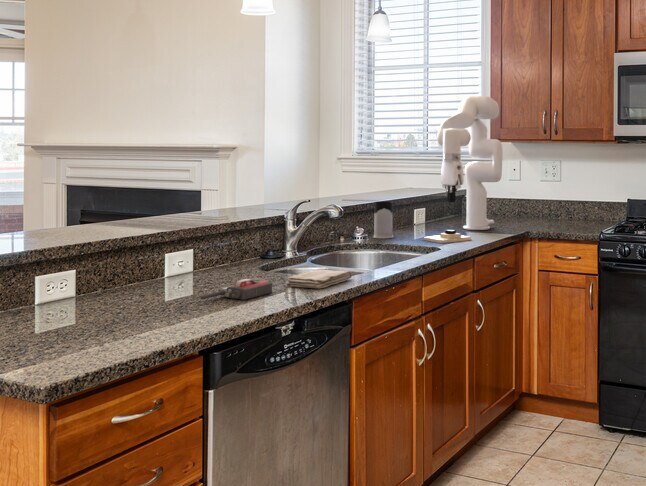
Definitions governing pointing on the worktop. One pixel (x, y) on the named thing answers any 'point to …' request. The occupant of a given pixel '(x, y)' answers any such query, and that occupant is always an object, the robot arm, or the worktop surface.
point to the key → (450, 231)
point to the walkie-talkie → (244, 289)
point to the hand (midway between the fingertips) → (451, 201)
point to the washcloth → (318, 278)
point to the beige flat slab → (447, 238)
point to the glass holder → (383, 220)
